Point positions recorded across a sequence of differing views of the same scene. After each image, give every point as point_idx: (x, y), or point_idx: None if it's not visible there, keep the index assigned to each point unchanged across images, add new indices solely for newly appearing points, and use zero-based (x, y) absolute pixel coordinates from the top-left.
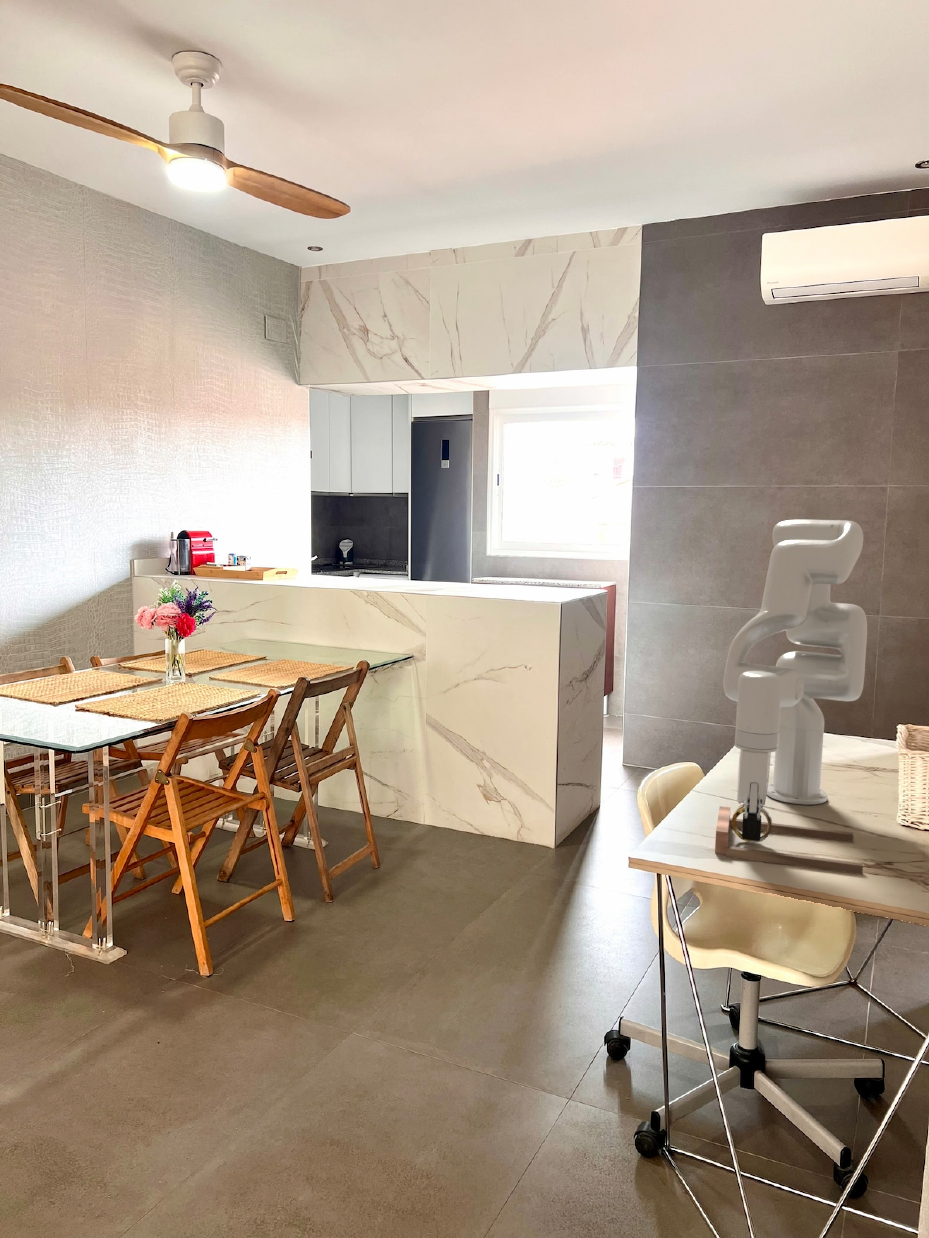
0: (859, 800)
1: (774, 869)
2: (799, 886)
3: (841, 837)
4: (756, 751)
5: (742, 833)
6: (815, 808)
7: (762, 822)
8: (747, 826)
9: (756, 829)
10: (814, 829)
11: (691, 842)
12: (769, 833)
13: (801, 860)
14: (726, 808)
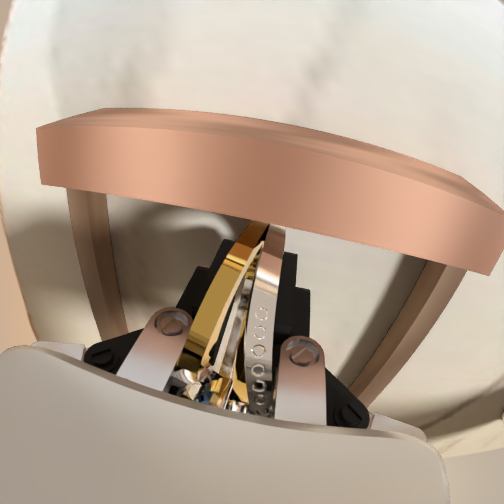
0: (488, 439)
1: (65, 272)
2: (25, 290)
3: None
4: None
5: (219, 251)
6: (492, 410)
7: (413, 345)
8: (184, 293)
9: None
10: None
11: (199, 5)
12: (226, 345)
13: None
14: (479, 251)
